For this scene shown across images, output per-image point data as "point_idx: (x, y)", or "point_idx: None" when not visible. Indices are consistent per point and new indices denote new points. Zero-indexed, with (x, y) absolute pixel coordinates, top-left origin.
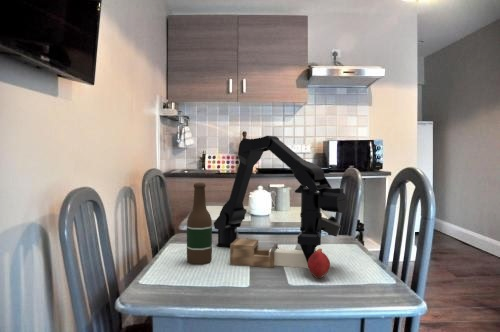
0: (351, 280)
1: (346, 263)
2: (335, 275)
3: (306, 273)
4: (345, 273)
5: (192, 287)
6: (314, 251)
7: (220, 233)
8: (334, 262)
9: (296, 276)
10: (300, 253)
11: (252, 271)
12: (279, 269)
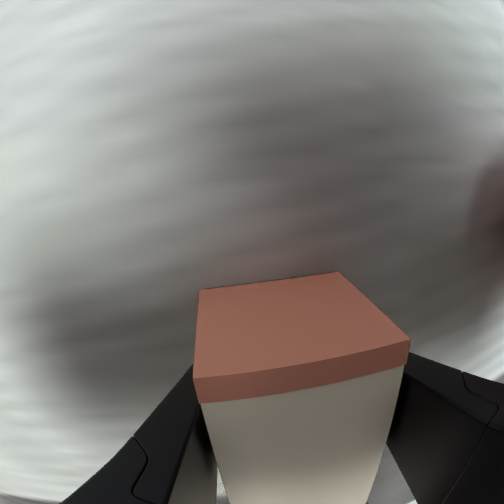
0: (487, 24)
1: (70, 18)
2: (453, 105)
3: (449, 319)
4: (386, 19)
5: None
6: (231, 408)
7: None
8: (63, 127)
9: (485, 351)
10: (366, 479)
11: (409, 499)
12: (384, 458)
